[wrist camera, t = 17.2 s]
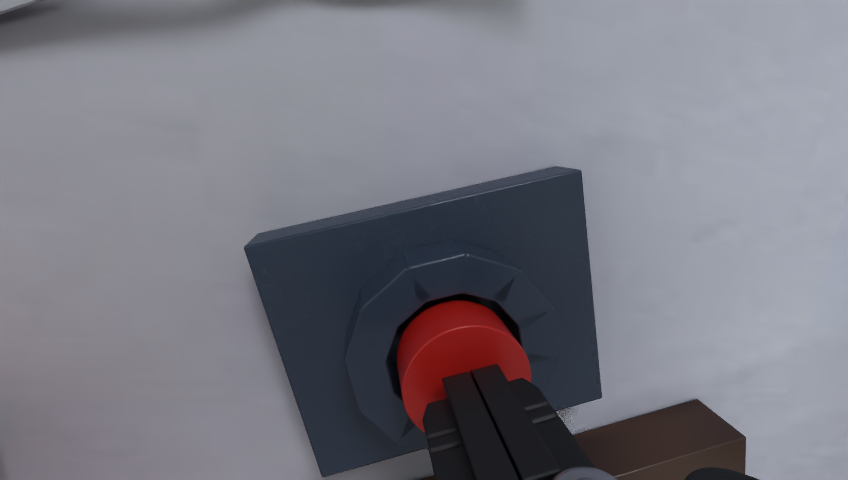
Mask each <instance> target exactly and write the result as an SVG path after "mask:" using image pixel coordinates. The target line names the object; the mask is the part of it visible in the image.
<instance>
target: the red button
mask: <svg viewBox="0 0 848 480" xmlns="http://www.w3.org/2000/svg"><path fill="white" fill-rule="evenodd" d="M493 364H498V365H499V367H500V369H501V370H502V372H503V373H504V375H505V377H506V378H507V380H508V381H511V380H515V379H519V378H524V379H525V380H527V381H529V382H530V383H531V370H530V364H529V360H528V358H527V355H526V353H525V352H524V350H523V348H522V347H521V345H520V344H519V343H518V341H517V340H516V339H515V337H514V336H513V335H512V334H511V332H510V331H509V330H508V328H507V327H506V326H505V324H504V323H503V322H502V320H501V319H500V318H499V317H498V316H497V315H496V314H495V313H494V312H493V311H492V310H490V309H489V308H487V307H485V306H483V305H481V304H479V303H476V302H472V301H466V300H452V301H446V302H442V303H439V304H436V305H434V306H432V307H429V308H428V309H426V310H424V311H423V312H421V313H420V314H419V315H418V316H416V317H415V318H414V319H413V320H412V321H411V322H410V324H409V325H408V326H407V328H406V329H405V331H404V332H403V334H402V336H401V339H400V341H399V345H398V348H397V367H398V374H399V380H400V387H401V393H402V399H403V404H404V407H405V410H406V412H407V414H408V416H409V418H410V419H411V420H412V422H413V423H414V424H415V425H416V426H417V427H418V428H419V429H420V430H422V431H423V432H424V433H425V430H424V425H423V421H422V419H423V416H424V413H425V409H426V406H427V404H428V403H431V402H435V401H439V400H442V399H446V398H445V393H444V388H443V384H442V378H444V377H448V376H452V375H456V374H459V373H463V372H467V371H469V373H470V370H474V369H478V368H481V367H485V366H489V365H493Z"/></svg>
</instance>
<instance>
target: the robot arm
mask: <svg viewBox="0 0 848 480" xmlns="http://www.w3.org/2000/svg"><path fill="white" fill-rule="evenodd" d="M442 384H443V388H444V393H445V398H446V399H442V400H439V401H435V402H431V403H428V404H427V406H426V409H425V413H424V416H423V419H422V421H423V425H424V430H425V434H426V439H427V444H428V448H429V453H430V457H431V462H432V466H433V471H434V476H435V480H617V479H616V478H615V477H613V476H612V475H610V474H608V473H607V472H604V471H602V470H600V469H597V468H596V467H595V466H594V465H593V464H592V462H591V461H590V459H589V458H588V456H587V455H586V454H585V452H584V451H583V449H582V448H581V447H580V445H579V444H578V442H577V441H576V440H575V438H574V437H573V435H572V434H571V433H570V431H569V430H568V428H567V427H566V426H565V424H564V423H563V421H562V420H561V419H560V417H558V415H557V413H556V411H555V410H554V409H553V407H552V406H551V405H549V402H548V400H547V399H546V397H545V396H544V395H543V393H542V392H541V390H540V389H539V388H538V387H537V386H535V385H534V384H532V383H530V382H529V381H527V380H525V379H524V378H519V379H515V380H511V381H508V380H507V378H506V377H505V375H504V373H503V372H502V370H501V369H500V367H499V365H498V364H493V365H489V366H485V367H481V368H478V369H474V370H470V373H469V371H467V372H463V373H459V374H456V375H452V376H448V377H444V378H442ZM685 480H759V479H756V478H753V477H751V476H748V475H745V474H742V473H739V472H736V471H733V470H730V469H725V468H717V467H706V468H701V469H698V470H695V471H693V472H691V473H690V474H689V475H688V476H687V477H686V478H685Z"/></svg>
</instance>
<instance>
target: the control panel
mask: <svg viewBox="0 0 848 480" xmlns="http://www.w3.org/2000/svg"><path fill="white" fill-rule="evenodd" d="M573 437H574V438H575V440H576V441H577V442H578V444H579V445H580V447H581V448H582V449H583V451H584V452H585V454H586V455H587V456H588V458H589V459H590V461H591V462H592V464H593V465H594V466H595V467H596V468H597V469H600V470H602V471H604V472H607V473H608V474H610V475H612V476H613V477H615V478H616V479H617V480H685V478H686V477H687V476H688V475H689V474H690V473H691V472H693V471H695V470H698V469H701V468H706V467H717V468H725V469H730V470H733V471H736V472H739V473H742V474H745V457H746V437H745V436H744V435H743V434H741V433H740V432H739V431H737V430H736V429H735V428H734V427H732V426H731V425H730V424H728V423H727V422H726V421H725V420H723V419H722V418H721V417H720V416H718V415H717V414H716V413H714V412H713V411H712V410H711V409H709V408H708V407H707V406H706V405H704V404H703V403H702V402H700V401H699V400H698V399H695V400H692V401H689V402H685V403H682V404H678V405H675V406H671V407H668V408H665V409H661V410H658V411H654V412H651V413H647V414H644V415H641V416H637V417H634V418H630V419H627V420H623V421H620V422H617V423H613V424H610V425H606V426H603V427H599V428H596V429H593V430H589V431H586V432H582V433H579V434H575V435H573ZM421 480H435V476H431V477H428V478H425V479H421Z"/></svg>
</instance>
